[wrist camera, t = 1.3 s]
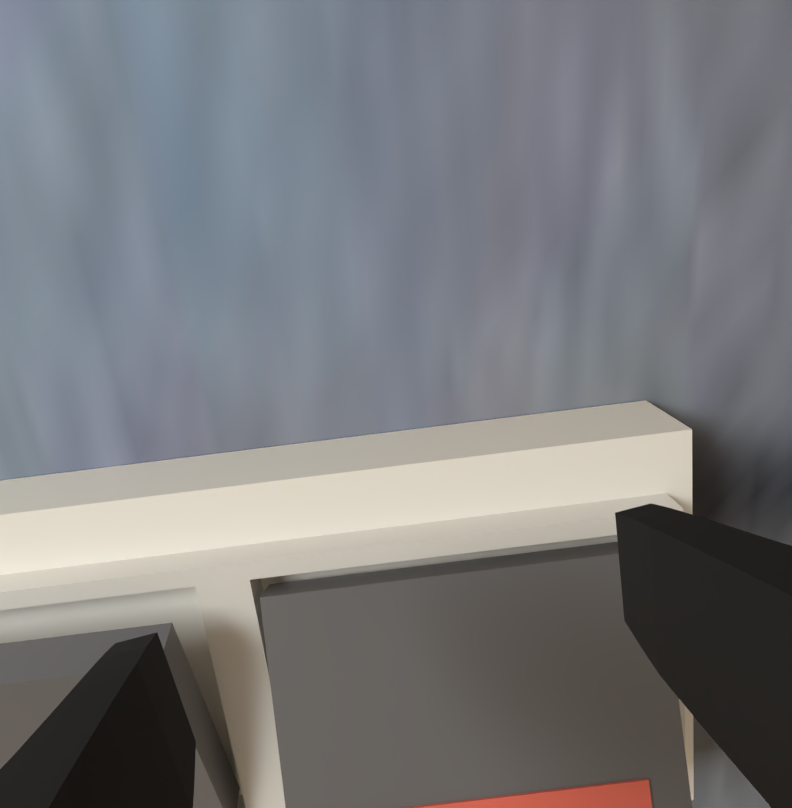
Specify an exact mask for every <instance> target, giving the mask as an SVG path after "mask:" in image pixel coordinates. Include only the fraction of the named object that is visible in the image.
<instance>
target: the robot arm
mask: <svg viewBox="0 0 792 808" xmlns="http://www.w3.org/2000/svg"><path fill="white" fill-rule="evenodd" d="M615 518H616V529H617V541H618V553H619V564H620V576H621V587H622V599H623V611H624V621H625V622H626V624H627V626H628V627H629V629H630V630H631V632H632V633H633V635H634V637H635V638H636V640H637V641H638V643H639V645H640V646H641V648H642V649H643V651H644V652H645V654H646V655H647V657H648V658H649V660H650V661H651V663H652V664H653V666H654V667H655V669H656V670H657V672H658V673H659V675H660V676H661V677H662V679H663V680H664V681H665V682H666V683H667V685H668V686H669V687H670V688H671V690H672V691H673V692H674V693H675V694H676V695H677V697H678V698H679V699H680V700H681V701H682V703H683V704H684V705H685V706H686V707H687V709H688V710H689V711H690V712H691V713H692V715H693V716H694V717H695V718H696V719H697V721H698V722H699V723H700V724H701V725H702V726H703V728H704V729H705V730H706V731H707V732H708V733H709V735H710V736H711V737H712V738H713V739H714V740H715V742H716V743H717V744H718V745H719V746H720V748H721V749H722V750H723V751H724V752H725V753H726V755H727V756H728V757H729V758H730V759H731V760H732V762H733V763H734V764H735V765H736V766H737V767H738V769H739V770H740V771H741V772H742V773H743V775H744V776H745V777H746V778H747V779H748V780H749V782H750V783H751V784H752V785H753V786H754V787H755V789H756V790H757V791H758V792H759V793H760V794H761V796H762V797H763V798H764V799H765V800H766V802H767V803H768V804H769V805H770V807H771V808H792V546H790V545H786V544H783V543H780V542H777V541H773V540H770V539H767V538H764V537H761V536H758V535H754V534H751V533H748V532H745V531H742V530H739V529H736V528H733V527H730V526H726V525H723V524H720V523H717V522H714V521H711V520H708V519H705V518H702V517H698V516H695V515H692V514H689V513H685V512H682V511H679V510H675V509H672V508H668V507H664V506H660V505H656V504H651V503H650V504H646V505H643V506H639V507H635V508H631V509H627V510H623V511H620V512H616V513H615ZM195 751H196V740H195V738H194V735H193V732H192V729H191V726H190V724H189V721H188V718H187V715H186V712H185V709H184V707H183V704H182V701H181V698H180V695H179V692H178V690H177V687H176V684H175V681H174V678H173V675H172V673H171V670H170V667H169V664H168V661H167V659H166V656H165V653H164V650H163V647H162V644H161V642H160V639H159V636H158V633H157V632H156V633H152V634H149V635H145V636H141V637H137V638H133V639H129V640H126V641H122V642H118V643H115V644H114V645H113V646H112V647H111V648H110V649H109V650H108V651H107V652H106V653H105V654H104V655H103V656H102V657H101V658H100V659H99V660H98V661H97V662H96V663H95V664H94V666H93V667H92V668H91V669H90V670H89V671H88V672H87V673H86V674H85V676H84V677H83V678H82V679H81V680H80V681H79V682H78V684H77V685H76V686H75V687H74V688H73V689H72V690H71V691H70V693H69V694H68V695H67V696H66V697H65V698H64V699H63V701H62V702H61V703H60V704H59V705H58V706H57V707H56V708H55V710H54V711H53V712H52V713H51V714H50V715H49V716H48V717H47V718H46V720H45V721H44V722H43V723H42V724H41V725H40V726H39V727H38V729H37V730H36V731H35V732H34V733H33V734H32V735H31V736H30V737H29V739H28V740H27V741H26V742H25V743H24V744H23V745H22V746H21V748H20V749H19V750H18V751H17V752H16V753H15V754H14V755H13V756H12V757H11V758H10V759H9V761H8V762H7V763H6V764H5V765H4V766H3V767H2V768H1V769H0V808H193V798H194V780H195Z"/></svg>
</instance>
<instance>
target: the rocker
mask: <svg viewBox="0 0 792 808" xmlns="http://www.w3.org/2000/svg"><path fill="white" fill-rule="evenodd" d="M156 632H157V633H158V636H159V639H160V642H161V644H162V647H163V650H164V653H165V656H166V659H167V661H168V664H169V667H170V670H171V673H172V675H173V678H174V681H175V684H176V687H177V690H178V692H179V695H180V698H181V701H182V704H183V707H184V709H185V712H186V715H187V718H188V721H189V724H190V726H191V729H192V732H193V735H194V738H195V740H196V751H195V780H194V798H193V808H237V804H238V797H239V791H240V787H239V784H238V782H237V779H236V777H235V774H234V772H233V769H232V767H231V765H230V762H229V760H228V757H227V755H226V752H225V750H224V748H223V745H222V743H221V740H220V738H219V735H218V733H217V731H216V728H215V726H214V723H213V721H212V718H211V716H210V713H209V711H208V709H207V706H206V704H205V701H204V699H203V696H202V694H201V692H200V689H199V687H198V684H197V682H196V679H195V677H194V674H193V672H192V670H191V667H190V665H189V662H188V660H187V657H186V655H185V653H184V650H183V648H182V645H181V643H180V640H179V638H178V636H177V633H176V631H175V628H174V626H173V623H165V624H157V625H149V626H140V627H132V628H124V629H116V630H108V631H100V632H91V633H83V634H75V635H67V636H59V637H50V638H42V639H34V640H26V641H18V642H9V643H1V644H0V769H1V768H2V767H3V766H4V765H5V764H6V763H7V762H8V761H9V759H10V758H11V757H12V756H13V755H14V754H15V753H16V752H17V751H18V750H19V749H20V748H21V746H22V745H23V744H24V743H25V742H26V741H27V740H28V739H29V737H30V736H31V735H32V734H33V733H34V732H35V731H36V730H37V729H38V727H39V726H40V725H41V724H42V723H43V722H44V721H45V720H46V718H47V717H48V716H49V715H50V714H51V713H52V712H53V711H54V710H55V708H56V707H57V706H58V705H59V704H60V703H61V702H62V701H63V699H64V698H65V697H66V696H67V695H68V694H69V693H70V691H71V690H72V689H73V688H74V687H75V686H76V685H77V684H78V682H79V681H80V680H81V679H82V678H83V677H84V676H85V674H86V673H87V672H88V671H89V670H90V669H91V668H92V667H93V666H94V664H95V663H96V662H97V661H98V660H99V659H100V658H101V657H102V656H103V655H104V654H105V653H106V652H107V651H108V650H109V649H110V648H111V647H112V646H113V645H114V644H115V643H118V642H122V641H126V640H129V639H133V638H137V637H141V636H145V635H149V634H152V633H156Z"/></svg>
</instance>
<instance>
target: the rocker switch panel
mask: <svg viewBox="0 0 792 808" xmlns="http://www.w3.org/2000/svg"><path fill="white" fill-rule="evenodd" d="M650 503H651V504H656V505H660V506H664V507H668V508H672V509H675V510H679V511H682V512H685V513H689V514H692V429H691V428H689V427H688V426H686V425H684V424H683V423H681V422H680V421H678V420H676V419H675V418H673V417H672V416H670V415H668V414H667V413H665V412H664V411H662V410H661V409H659V408H657V407H656V406H654V405H653V404H651V403H649V402H648V401H638V402H630V403H622V404H613V405H605V406H597V407H589V408H581V409H573V410H565V411H557V412H549V413H541V414H533V415H525V416H517V417H509V418H501V419H493V420H485V421H477V422H468V423H460V424H452V425H444V426H436V427H428V428H420V429H412V430H404V431H396V432H388V433H380V434H372V435H364V436H356V437H348V438H340V439H332V440H324V441H315V442H307V443H299V444H291V445H283V446H275V447H267V448H259V449H251V450H243V451H235V452H227V453H219V454H211V455H203V456H195V457H187V458H179V459H170V460H162V461H154V462H146V463H138V464H130V465H122V466H114V467H106V468H98V469H90V470H82V471H74V472H66V473H58V474H50V475H42V476H34V477H25V478H17V479H9V480H1V481H0V644H1V643H9V642H18V641H26V640H34V639H42V638H50V637H59V636H67V635H75V634H83V633H91V632H100V631H108V630H116V629H124V628H132V627H140V626H149V625H157V624H165V623H173V626H174V628H175V631H176V633H177V636H178V638H179V640H180V643H181V645H182V648H183V650H184V653H185V655H186V657H187V660H188V662H189V665H190V667H191V670H192V672H193V674H194V677H195V679H196V682H197V684H198V687H199V689H200V692H201V694H202V696H203V699H204V701H205V704H206V706H207V709H208V711H209V713H210V716H211V718H212V721H213V723H214V726H215V728H216V731H217V733H218V735H219V738H220V740H221V743H222V745H223V748H224V750H225V752H226V755H227V757H228V760H229V762H230V765H231V767H232V769H233V772H234V774H235V777H236V779H237V782H238V784H239V787H240V791H239V797H238V804H237V808H286V807H285V799H284V790H283V782H282V774H281V766H280V758H279V750H278V742H277V734H276V726H275V718H274V710H273V702H272V694H271V686H270V677H269V669H268V661H267V653H266V645H265V637H264V629H263V621H262V613H261V605H260V596H261V595H262V594H263V592H264V591H265V590H266V588H267V587H268V586H269V584H276V583H284V582H292V581H300V580H308V579H317V578H325V577H333V576H341V575H349V574H357V573H366V572H374V571H382V570H390V569H398V568H407V567H415V566H423V565H431V564H439V563H447V562H456V561H464V560H472V559H480V558H488V557H496V556H505V555H513V554H521V553H529V552H537V551H545V550H554V549H562V548H570V547H578V546H586V545H594V544H603V543H611V542H618V541H617V529H616V518H615V513H616V512H620V511H623V510H627V509H631V508H635V507H639V506H643V505H646V504H650ZM679 706H680V714H681V722H682V730H683V738H684V746H685V753H686V761H687V769H688V777H689V785H690V793H691V800H694V765H693V715H692V713H691V712H690V711H689V710H688V709H687V707H686V706H685V705H684V704H683V703H682V701H681V700H680V699H679Z"/></svg>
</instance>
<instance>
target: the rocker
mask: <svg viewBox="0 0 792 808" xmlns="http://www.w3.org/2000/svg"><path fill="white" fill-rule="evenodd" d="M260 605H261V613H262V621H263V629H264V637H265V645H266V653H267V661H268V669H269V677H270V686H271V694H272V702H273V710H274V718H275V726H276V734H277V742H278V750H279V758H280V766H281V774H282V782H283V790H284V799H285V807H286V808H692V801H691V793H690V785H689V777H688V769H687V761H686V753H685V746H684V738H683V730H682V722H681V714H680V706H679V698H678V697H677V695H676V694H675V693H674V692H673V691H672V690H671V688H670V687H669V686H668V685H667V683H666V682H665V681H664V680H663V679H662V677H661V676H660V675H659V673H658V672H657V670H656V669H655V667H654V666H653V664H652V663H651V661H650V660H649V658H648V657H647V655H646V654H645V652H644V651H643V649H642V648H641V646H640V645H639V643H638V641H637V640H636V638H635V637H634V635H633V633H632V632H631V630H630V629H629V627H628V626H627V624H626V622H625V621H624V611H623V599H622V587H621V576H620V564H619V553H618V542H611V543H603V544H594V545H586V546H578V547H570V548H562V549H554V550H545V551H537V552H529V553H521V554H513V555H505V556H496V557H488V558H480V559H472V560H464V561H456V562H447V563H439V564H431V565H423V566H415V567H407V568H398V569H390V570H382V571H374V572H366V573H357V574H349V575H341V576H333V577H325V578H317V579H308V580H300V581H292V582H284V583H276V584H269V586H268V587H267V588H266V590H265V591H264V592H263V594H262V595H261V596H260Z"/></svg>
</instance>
